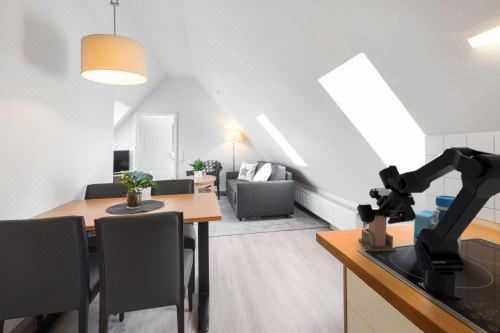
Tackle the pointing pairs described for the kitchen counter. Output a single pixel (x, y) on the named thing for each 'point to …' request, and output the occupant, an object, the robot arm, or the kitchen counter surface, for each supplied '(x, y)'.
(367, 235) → the book rack
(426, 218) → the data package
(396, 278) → the kitchen counter surface
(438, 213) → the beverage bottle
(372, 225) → the pink tall block
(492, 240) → the kitchen counter surface
